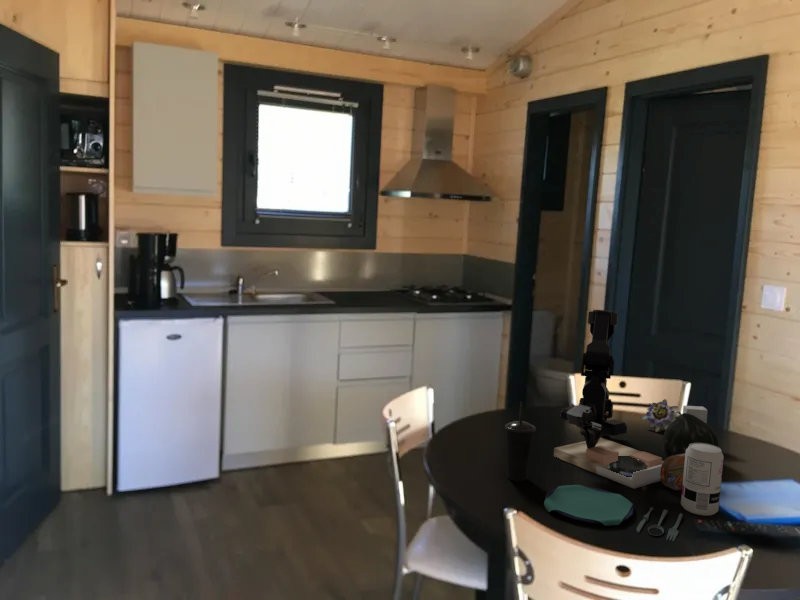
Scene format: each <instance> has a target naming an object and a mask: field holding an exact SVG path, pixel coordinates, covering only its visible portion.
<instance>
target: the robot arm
mask: <svg viewBox="0 0 800 600" xmlns="http://www.w3.org/2000/svg"><path fill="white" fill-rule="evenodd" d="M587 314H588V318H587V325H589V332H590V334H591V336H592V338H591V341H590V342H589V343H588V344H587V345H586V350H585V352H583V353H582V361H581V372H580V376H581V377H584V384H583V388H582V397H580V398H579V400H578V401H579V403H578V405H574V406H568V407H562V408H561V411H560V415H559V417H560V419H562V420H565V421H567V422H568V424H570V425H575V426H576V427H578V428H579V430H581V431H580V434H581V433H582V435H583V438H584V441H586V445H587V449H588V448H592V447H595V446H596V444H597V442H598V441H599V439H600V438H604V437H609V436H612V437H613V436H619V435H624V434H627V431H628V426H627V424H626V422H624V421H620V420H618V419H614V418H613V413H614V411H613V410H614V403H613V402H612V398H610V391H609V389H608V387H607V385H608V384H607V382H608V380H611V377H612V376H614V369H615V368H614V367H615V359H614V356H613V354H611V346H610V345H609V340H610V339H611V338H612V336H613V334H614V333H615V327H616V328H617V327H618V318H619V316H618V315H619V314H618V313H616V312H614V310H607V309H606V310H605V309H593V310H592V311H591V310H590V311H588V313H587ZM612 418H613V419H612ZM609 419H610V420H609Z"/></svg>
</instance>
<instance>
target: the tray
mask: <svg viewBox="0 0 800 600" xmlns="http://www.w3.org/2000/svg"><path fill="white" fill-rule="evenodd" d="M664 461H665V460H662V464H663V462H664ZM662 464H661V465H658V466H654V467H650V468H647V469H643V470H640V471H636V472H633V475H632V477H626V476H624V475H621V474H619V473H616V472H613V471H611V470H608V469H606V468H603V467H601V466H597V467H596V473H595V474H596V475H598V476H601V477H604V478H606V479H609V480H611V481H614V482H616V483H619V484H622V485H624V486H626V487H628V488H632V489H633V490H634V489H638V488H640V487H641V488H642V487H644V486H647V485H651V484H655V483H658V482H662V481H661V475H660V473H661V466H662Z"/></svg>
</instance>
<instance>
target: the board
mask: <svg viewBox="0 0 800 600" xmlns="http://www.w3.org/2000/svg"><path fill="white" fill-rule="evenodd" d="M597 446H604V447H607V448H609V449H612V450H615V451H617V452H619V456H630V455H631V454H635V453H639V452H642V451H641V450H638V449H635V448H633V447H630V446H627V445H624V444H621V443H618V442H615V441H613V440H611V439H610V440H609V439H607V438H604V437H601V438H600V439H599V441H598V442H597V444H596V446H595V447H597ZM586 449H587V445H586V441H585V440H584V441H579V442H574V443H569V444H566V445H560V446H556V447H554V449H553V457H554V458H556V457H557V458H556V459H558V458H559V459H558V460H561V461H564V462H566V463H569V464H572V465H573V466H576V467H578V468H581V469H584V470H586V471H589V472H591V473H594V474H596V467H597V466H601V467H603V468H606V469H607V466H608V465H609V464H610V463H608V464H604V465H603V464H600V463H598V462H595V461H593V460H590V459H588V458H586Z"/></svg>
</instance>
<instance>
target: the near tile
mask: <svg viewBox="0 0 800 600" xmlns="http://www.w3.org/2000/svg"><path fill="white" fill-rule="evenodd" d="M618 456H619V452H617V451H615V450H612V449H609V448H607V447H604V446H597V447H592V448H588V449H586V458H588V459H590V460H593V461H595V462H598V463H600V464H603V465H604V464H608V463H612V462H616V461H618Z"/></svg>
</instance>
